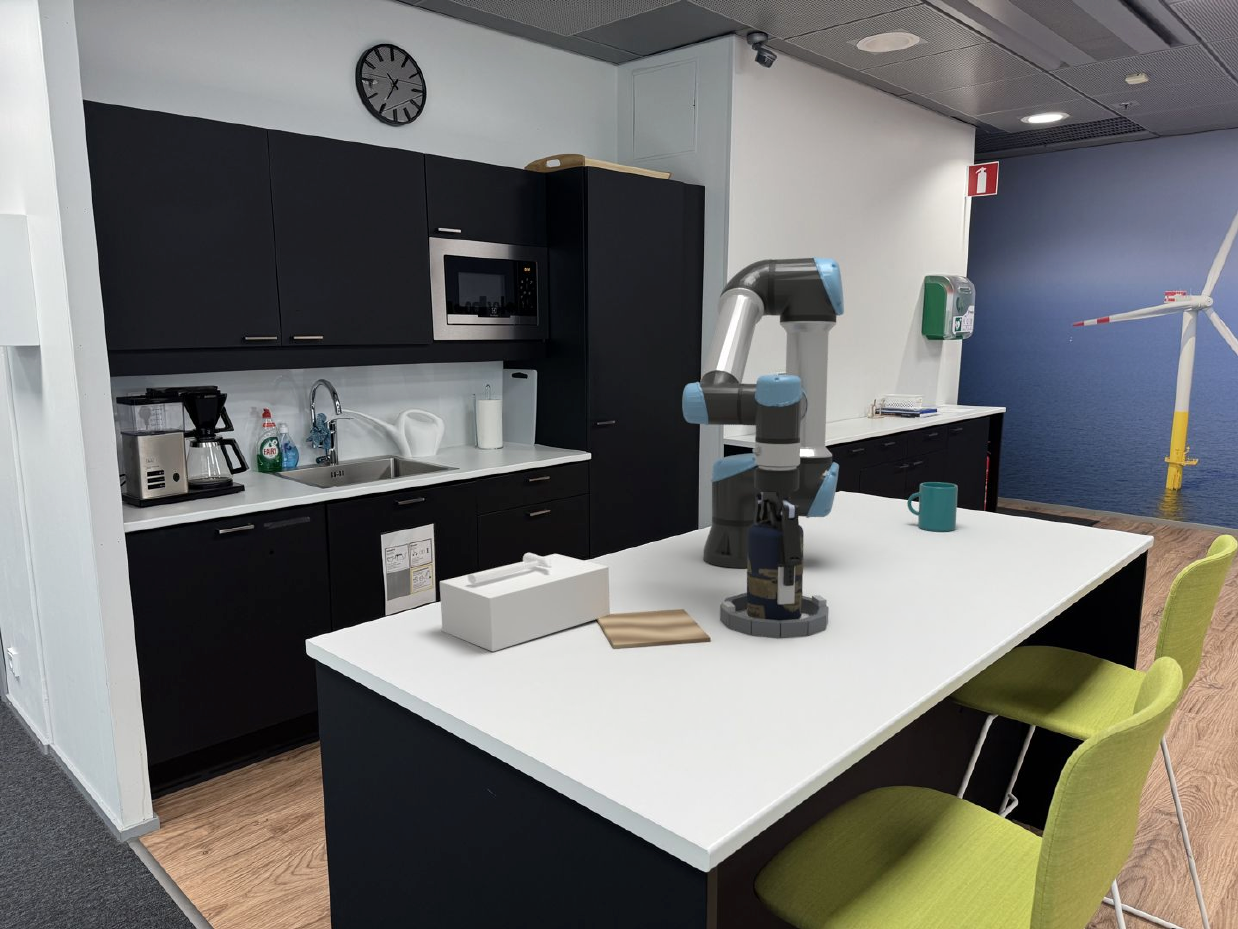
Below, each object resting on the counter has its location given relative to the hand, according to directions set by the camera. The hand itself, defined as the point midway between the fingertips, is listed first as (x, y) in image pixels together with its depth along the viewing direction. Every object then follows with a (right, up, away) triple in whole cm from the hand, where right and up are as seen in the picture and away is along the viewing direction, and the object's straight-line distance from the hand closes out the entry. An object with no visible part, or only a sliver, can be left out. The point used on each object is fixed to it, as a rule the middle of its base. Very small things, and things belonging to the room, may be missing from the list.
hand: (774, 594), depth 157 cm
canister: (0, -5, +1) cm, 5 cm away
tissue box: (-43, -5, -1) cm, 43 cm away
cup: (+53, +6, +75) cm, 92 cm away
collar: (0, -5, +1) cm, 5 cm away
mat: (-22, -5, -4) cm, 22 cm away
